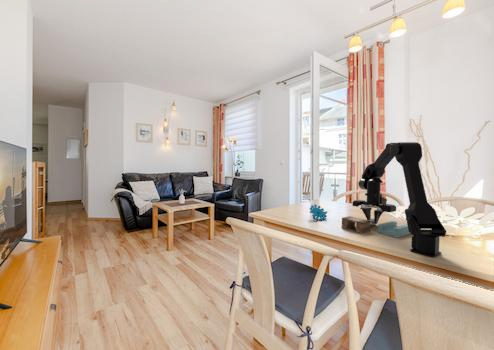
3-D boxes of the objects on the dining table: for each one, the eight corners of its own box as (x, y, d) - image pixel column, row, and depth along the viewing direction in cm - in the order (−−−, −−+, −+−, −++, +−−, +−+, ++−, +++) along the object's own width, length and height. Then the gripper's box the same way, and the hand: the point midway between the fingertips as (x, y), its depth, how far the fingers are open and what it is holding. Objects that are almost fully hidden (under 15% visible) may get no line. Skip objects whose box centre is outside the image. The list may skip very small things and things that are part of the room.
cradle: (412, 232, 97) (412, 225, 97) (397, 237, 91) (398, 228, 91) (392, 228, 104) (392, 221, 104) (377, 232, 98) (378, 224, 98)
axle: (371, 224, 112) (371, 218, 112) (377, 225, 110) (377, 218, 110) (357, 227, 106) (356, 221, 106) (363, 228, 103) (362, 222, 103)
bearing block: (370, 230, 100) (370, 220, 100) (362, 233, 97) (362, 222, 97) (349, 225, 109) (349, 216, 109) (341, 227, 106) (341, 217, 106)
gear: (314, 218, 116) (308, 203, 123) (308, 224, 120) (303, 209, 127) (331, 220, 120) (325, 204, 126) (325, 225, 124) (319, 210, 130)
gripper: (403, 192, 105) (401, 225, 106) (364, 188, 121) (364, 217, 122) (390, 194, 100) (389, 228, 100) (352, 189, 116) (351, 219, 116)
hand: (372, 222), depth 110 cm, fingers closed on axle, 3 cm apart
